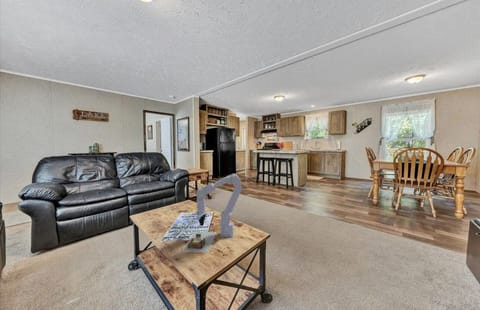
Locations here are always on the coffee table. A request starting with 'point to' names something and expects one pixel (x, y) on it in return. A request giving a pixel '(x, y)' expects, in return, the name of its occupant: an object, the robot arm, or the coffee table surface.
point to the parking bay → (196, 244)
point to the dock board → (208, 239)
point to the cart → (198, 239)
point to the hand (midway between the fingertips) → (201, 225)
